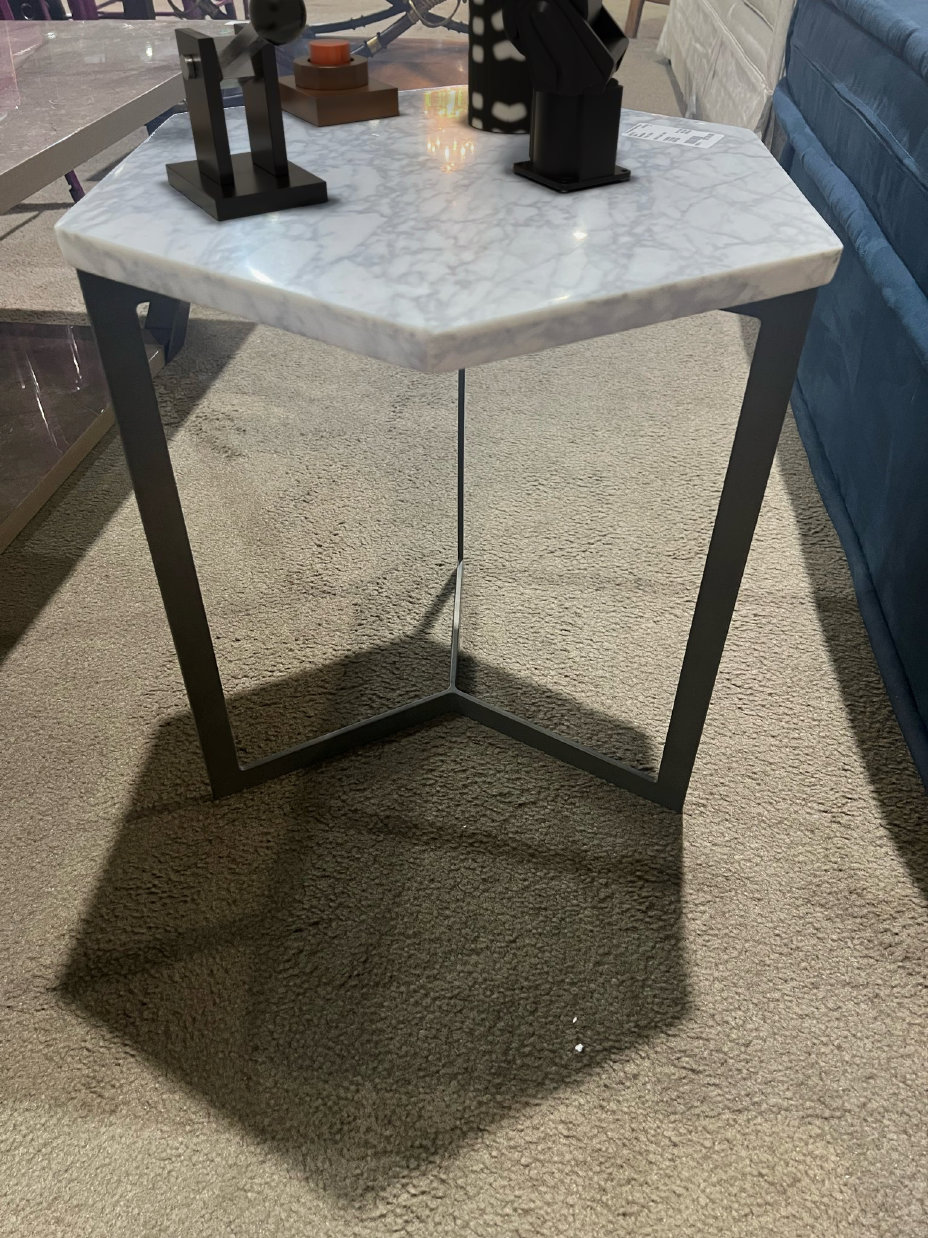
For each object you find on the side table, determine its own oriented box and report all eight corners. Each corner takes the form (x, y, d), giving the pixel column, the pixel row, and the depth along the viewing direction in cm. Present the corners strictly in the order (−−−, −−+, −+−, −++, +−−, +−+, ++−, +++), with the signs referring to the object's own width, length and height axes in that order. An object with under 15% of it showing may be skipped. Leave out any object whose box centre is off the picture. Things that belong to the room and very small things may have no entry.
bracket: (328, 201, 64) (313, 35, 58) (218, 220, 61) (189, 47, 54) (270, 166, 70) (252, 14, 64) (168, 183, 67) (137, 24, 61)
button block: (399, 115, 83) (397, 63, 81) (318, 126, 80) (313, 73, 77) (348, 94, 90) (345, 46, 87) (272, 104, 86) (266, 54, 84)
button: (358, 65, 82) (356, 43, 81) (321, 70, 81) (319, 46, 80) (340, 59, 84) (338, 37, 83) (303, 63, 83) (301, 40, 82)
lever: (321, 33, 52) (306, -33, 51) (268, 38, 51) (251, -30, 49) (251, 92, 63) (237, 38, 62) (206, 97, 62) (191, 43, 60)
